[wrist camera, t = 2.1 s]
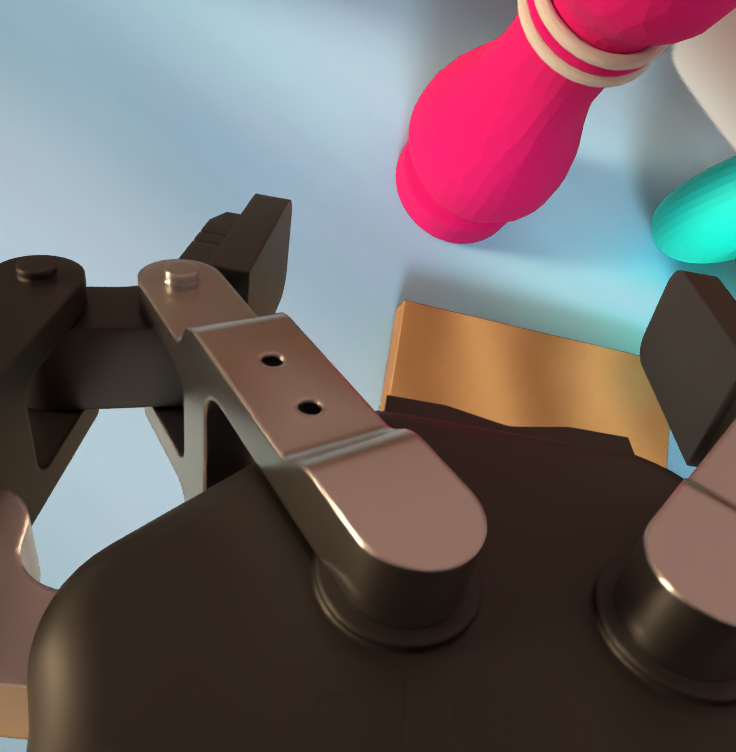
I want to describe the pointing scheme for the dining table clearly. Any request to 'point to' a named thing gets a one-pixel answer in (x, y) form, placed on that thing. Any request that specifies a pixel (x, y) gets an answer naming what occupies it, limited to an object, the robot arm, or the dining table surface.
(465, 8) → the dining table surface
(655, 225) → the turquoise spool
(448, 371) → the oak board
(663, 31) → the pepper mill
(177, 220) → the dining table surface
